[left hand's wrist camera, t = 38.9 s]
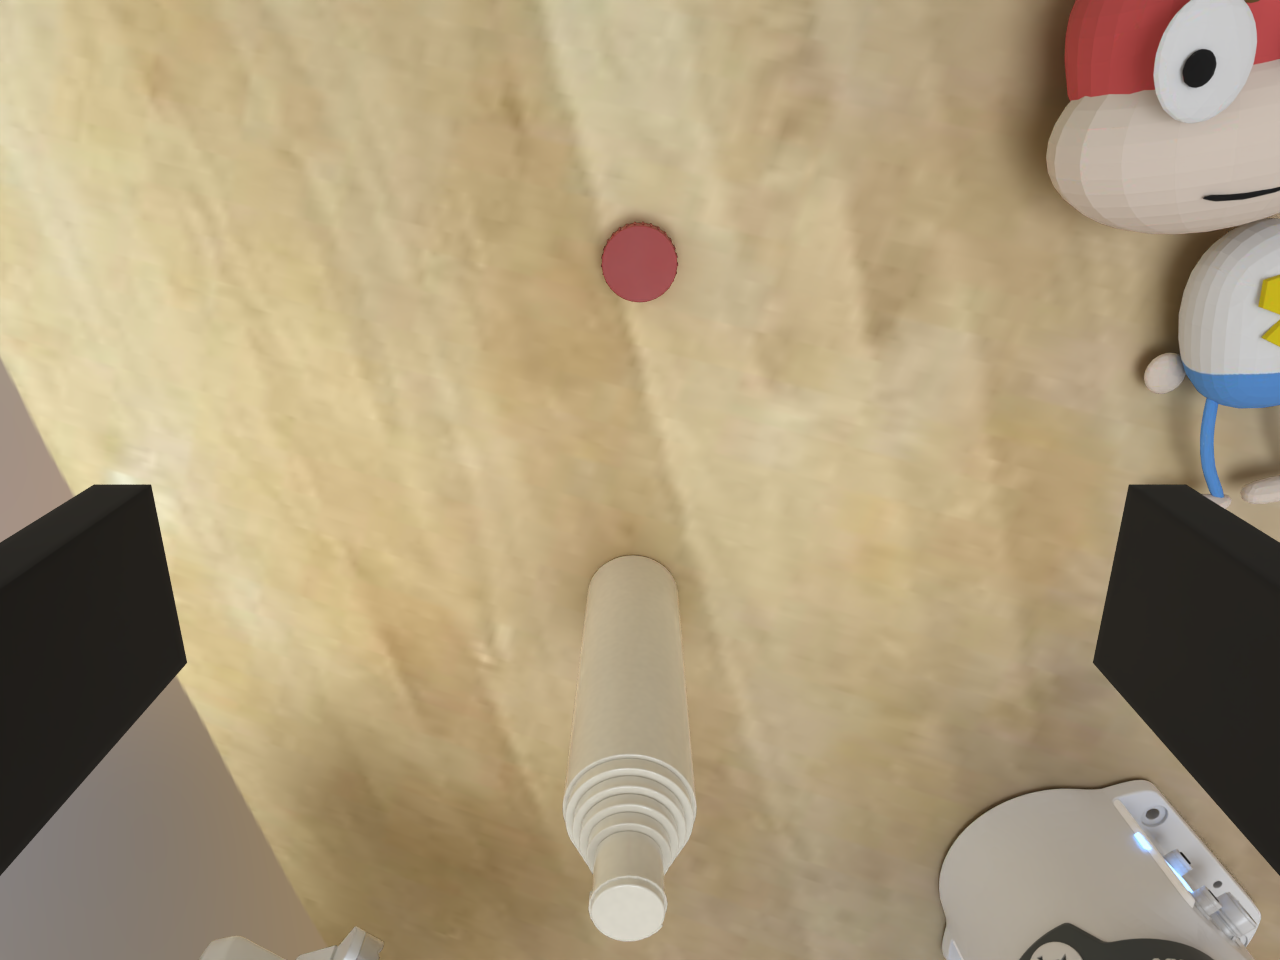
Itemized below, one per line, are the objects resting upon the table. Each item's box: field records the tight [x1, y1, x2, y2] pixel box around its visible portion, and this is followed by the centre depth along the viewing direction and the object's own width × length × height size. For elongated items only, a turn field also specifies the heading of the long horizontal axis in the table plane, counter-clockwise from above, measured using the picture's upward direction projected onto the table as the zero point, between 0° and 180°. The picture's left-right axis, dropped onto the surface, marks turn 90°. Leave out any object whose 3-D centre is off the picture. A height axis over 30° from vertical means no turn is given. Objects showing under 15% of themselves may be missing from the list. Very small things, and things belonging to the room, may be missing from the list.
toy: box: [1046, 0, 1280, 509], centre depth 43 cm, size 18×10×30 cm
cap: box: [601, 222, 678, 302], centre depth 46 cm, size 4×4×2 cm
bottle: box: [563, 555, 697, 941], centre depth 42 cm, size 5×5×24 cm
